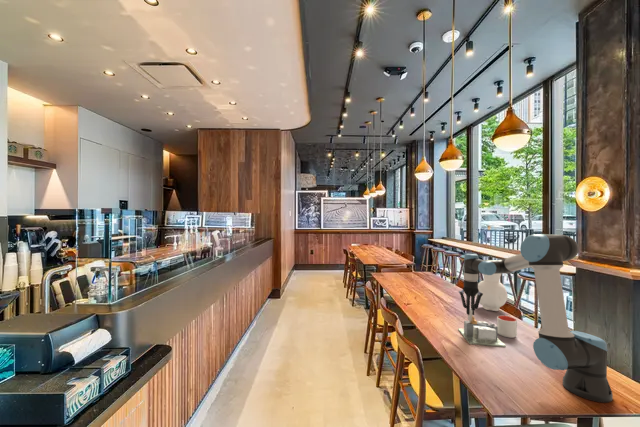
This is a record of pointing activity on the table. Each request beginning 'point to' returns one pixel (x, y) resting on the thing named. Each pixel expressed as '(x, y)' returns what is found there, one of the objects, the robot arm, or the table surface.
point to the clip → (473, 320)
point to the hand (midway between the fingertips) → (470, 320)
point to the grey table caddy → (481, 334)
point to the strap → (484, 325)
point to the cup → (507, 326)
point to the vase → (492, 292)
